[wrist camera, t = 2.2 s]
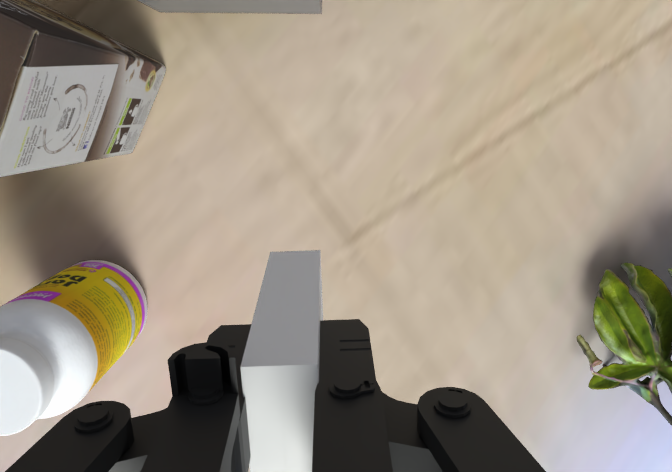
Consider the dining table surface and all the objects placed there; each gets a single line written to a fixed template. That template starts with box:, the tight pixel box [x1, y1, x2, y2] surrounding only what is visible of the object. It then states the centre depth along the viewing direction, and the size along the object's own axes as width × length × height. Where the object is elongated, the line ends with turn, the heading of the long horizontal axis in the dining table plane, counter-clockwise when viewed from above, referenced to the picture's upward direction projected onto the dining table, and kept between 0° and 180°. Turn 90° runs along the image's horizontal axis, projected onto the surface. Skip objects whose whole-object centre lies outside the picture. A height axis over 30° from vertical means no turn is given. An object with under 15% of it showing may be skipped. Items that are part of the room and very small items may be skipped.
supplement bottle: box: [0, 260, 148, 436], centre depth 34 cm, size 7×7×13 cm
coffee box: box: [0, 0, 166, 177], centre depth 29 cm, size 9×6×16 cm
